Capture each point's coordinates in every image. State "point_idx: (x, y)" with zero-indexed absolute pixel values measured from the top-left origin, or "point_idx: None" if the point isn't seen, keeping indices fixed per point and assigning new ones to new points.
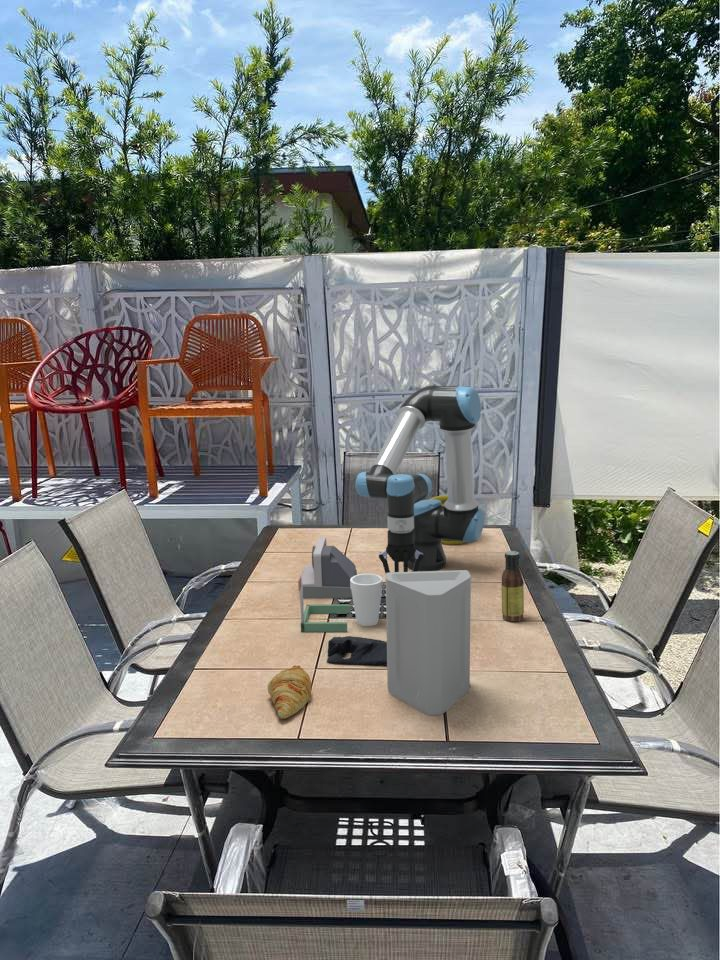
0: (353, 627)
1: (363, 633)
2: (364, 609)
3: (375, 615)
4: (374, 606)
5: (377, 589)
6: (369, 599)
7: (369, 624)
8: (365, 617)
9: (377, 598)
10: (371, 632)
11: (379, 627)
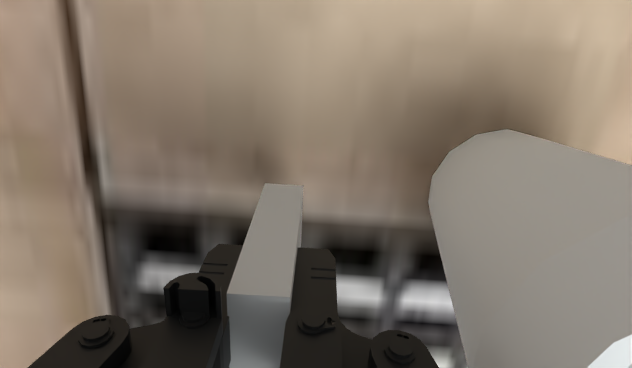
0: (597, 116)
1: (557, 16)
2: (599, 156)
3: (474, 162)
4: (518, 175)
5: (590, 256)
6: (623, 179)
7: (496, 134)
8: (550, 141)
9: (520, 215)
10: (500, 29)
11: (434, 105)
